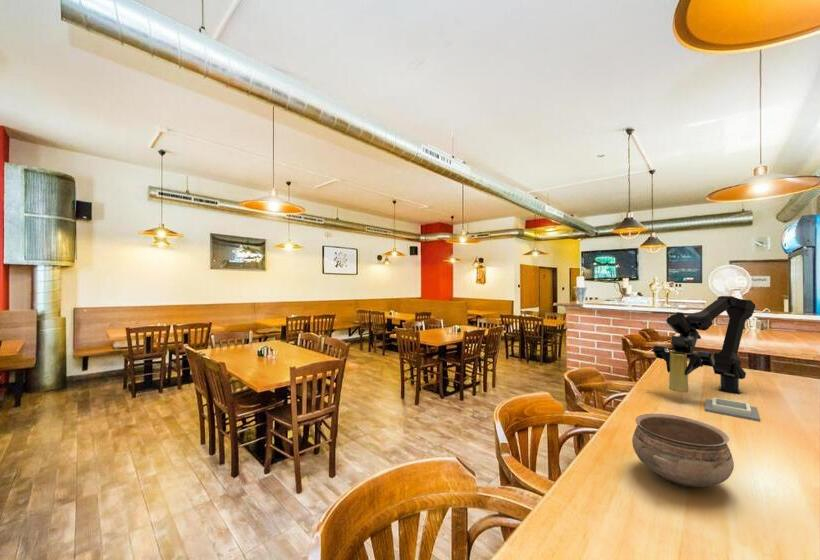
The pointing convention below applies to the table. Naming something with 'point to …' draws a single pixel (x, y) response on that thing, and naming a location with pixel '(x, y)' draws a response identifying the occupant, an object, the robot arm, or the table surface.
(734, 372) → the robot arm
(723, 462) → the cooking pot
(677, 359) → the vase
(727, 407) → the vase holder
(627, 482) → the table surface
